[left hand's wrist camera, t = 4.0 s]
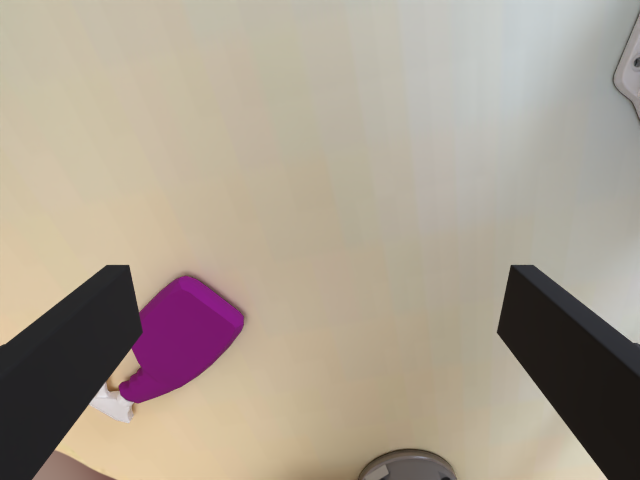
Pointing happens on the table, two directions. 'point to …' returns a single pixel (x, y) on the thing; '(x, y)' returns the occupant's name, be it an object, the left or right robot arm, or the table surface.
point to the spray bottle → (173, 344)
